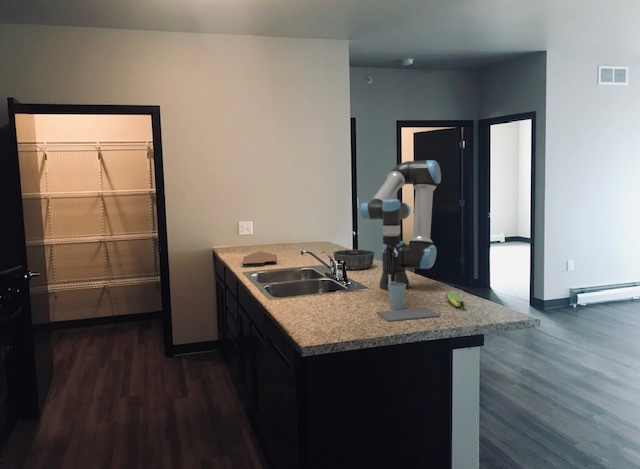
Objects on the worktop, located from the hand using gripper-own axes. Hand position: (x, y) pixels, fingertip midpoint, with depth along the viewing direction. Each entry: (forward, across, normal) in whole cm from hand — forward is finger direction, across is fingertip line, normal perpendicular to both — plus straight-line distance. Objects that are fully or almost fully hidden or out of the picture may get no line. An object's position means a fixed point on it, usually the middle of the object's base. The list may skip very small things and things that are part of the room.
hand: (392, 288), depth 236 cm
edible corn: (+8, +9, +26) cm, 28 cm away
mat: (+8, +17, 0) cm, 19 cm away
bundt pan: (+7, -99, +10) cm, 100 cm away
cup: (+8, +5, 0) cm, 10 cm away
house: (+8, -142, -44) cm, 149 cm away
